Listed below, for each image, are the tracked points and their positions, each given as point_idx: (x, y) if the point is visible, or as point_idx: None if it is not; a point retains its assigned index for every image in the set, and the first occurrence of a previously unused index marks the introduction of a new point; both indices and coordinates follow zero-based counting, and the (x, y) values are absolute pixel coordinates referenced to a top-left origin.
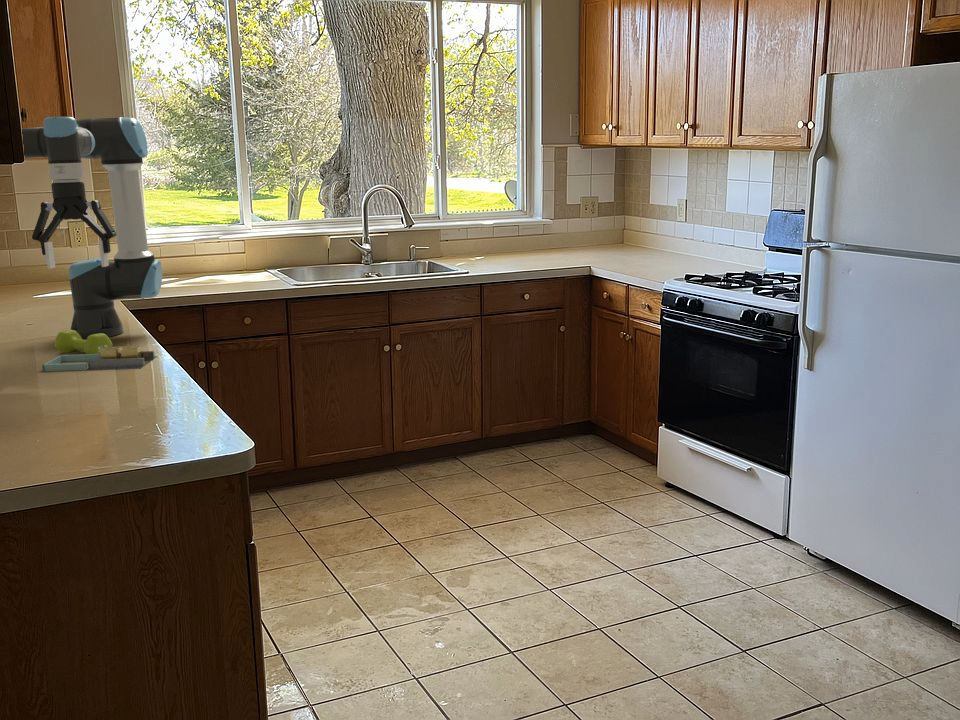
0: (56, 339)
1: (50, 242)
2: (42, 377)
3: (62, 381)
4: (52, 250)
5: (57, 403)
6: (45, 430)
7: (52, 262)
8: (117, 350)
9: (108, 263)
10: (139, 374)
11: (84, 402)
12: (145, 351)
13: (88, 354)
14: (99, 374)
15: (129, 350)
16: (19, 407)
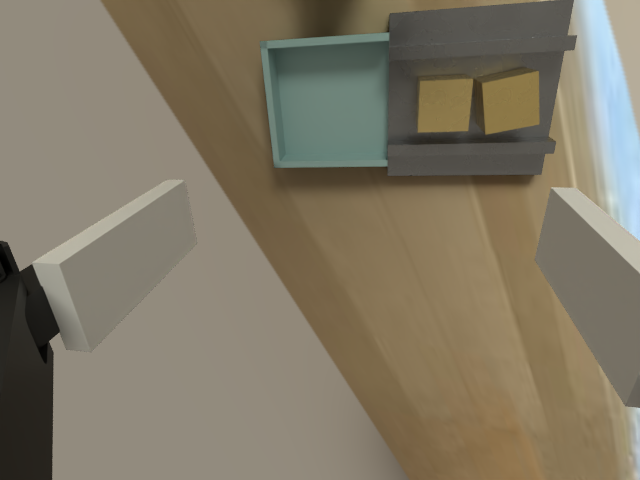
0: None
1: (75, 293)
2: None
3: (350, 209)
4: (118, 237)
5: (414, 361)
6: (452, 472)
7: (173, 224)
8: (468, 115)
9: (581, 194)
10: None
11: (463, 365)
12: (545, 42)
13: (345, 38)
14: None
15: (513, 128)
16: (356, 370)
